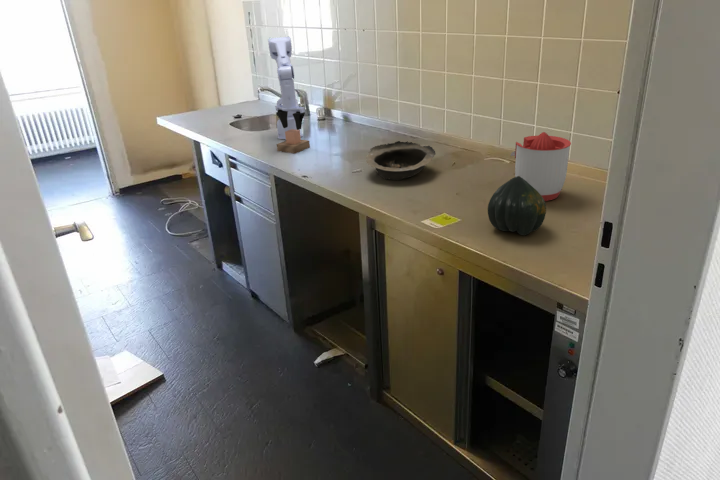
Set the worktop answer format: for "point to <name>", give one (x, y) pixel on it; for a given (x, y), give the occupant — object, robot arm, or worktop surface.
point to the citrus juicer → (543, 163)
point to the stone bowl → (399, 159)
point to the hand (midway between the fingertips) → (292, 128)
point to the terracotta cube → (293, 136)
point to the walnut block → (293, 146)
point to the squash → (517, 207)
